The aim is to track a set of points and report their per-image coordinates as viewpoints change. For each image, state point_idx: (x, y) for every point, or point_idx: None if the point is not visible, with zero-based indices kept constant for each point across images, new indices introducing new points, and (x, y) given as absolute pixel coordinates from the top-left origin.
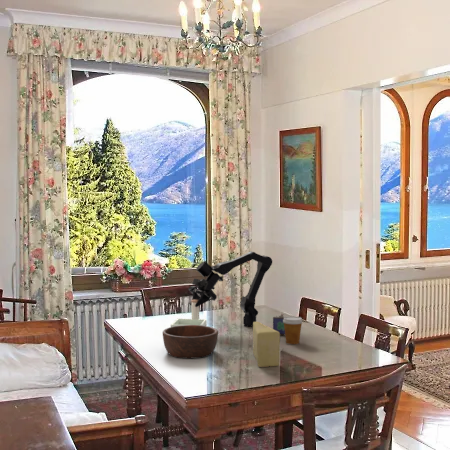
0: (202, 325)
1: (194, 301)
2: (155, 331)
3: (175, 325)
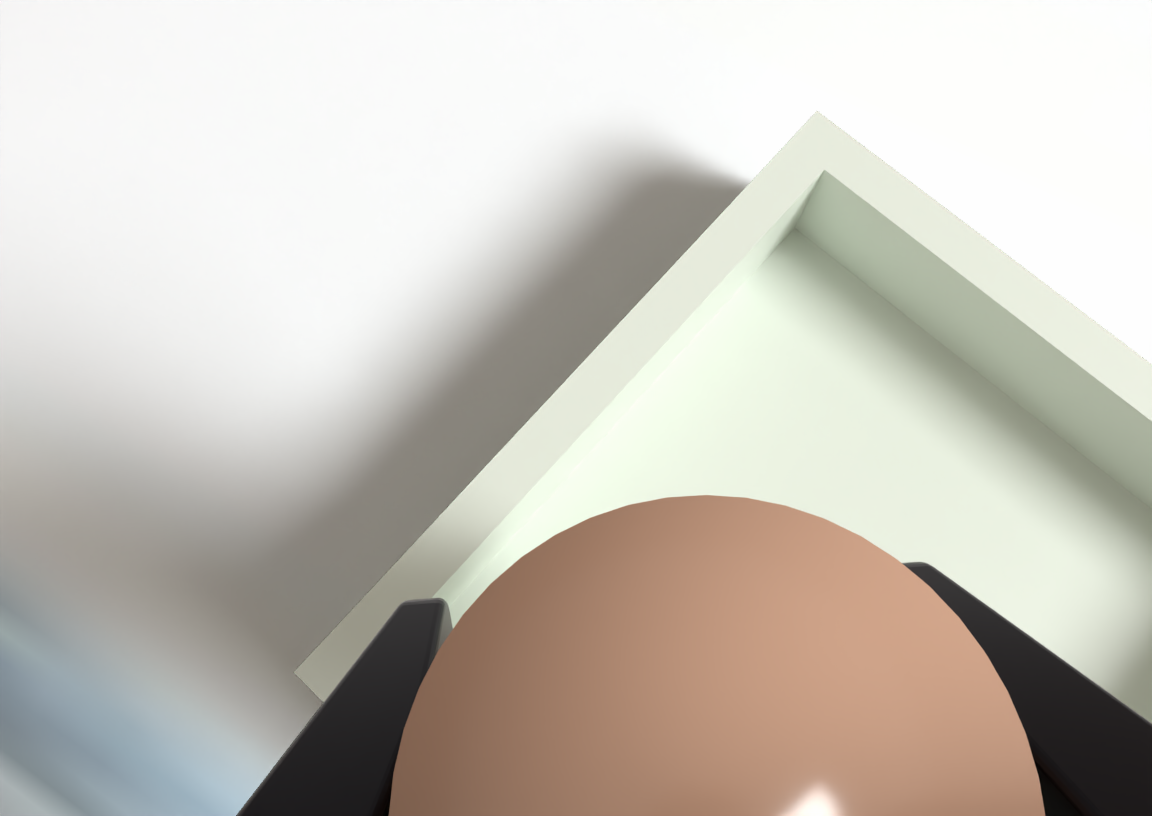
0: None
1: (490, 594)
2: (1009, 14)
3: (739, 195)
